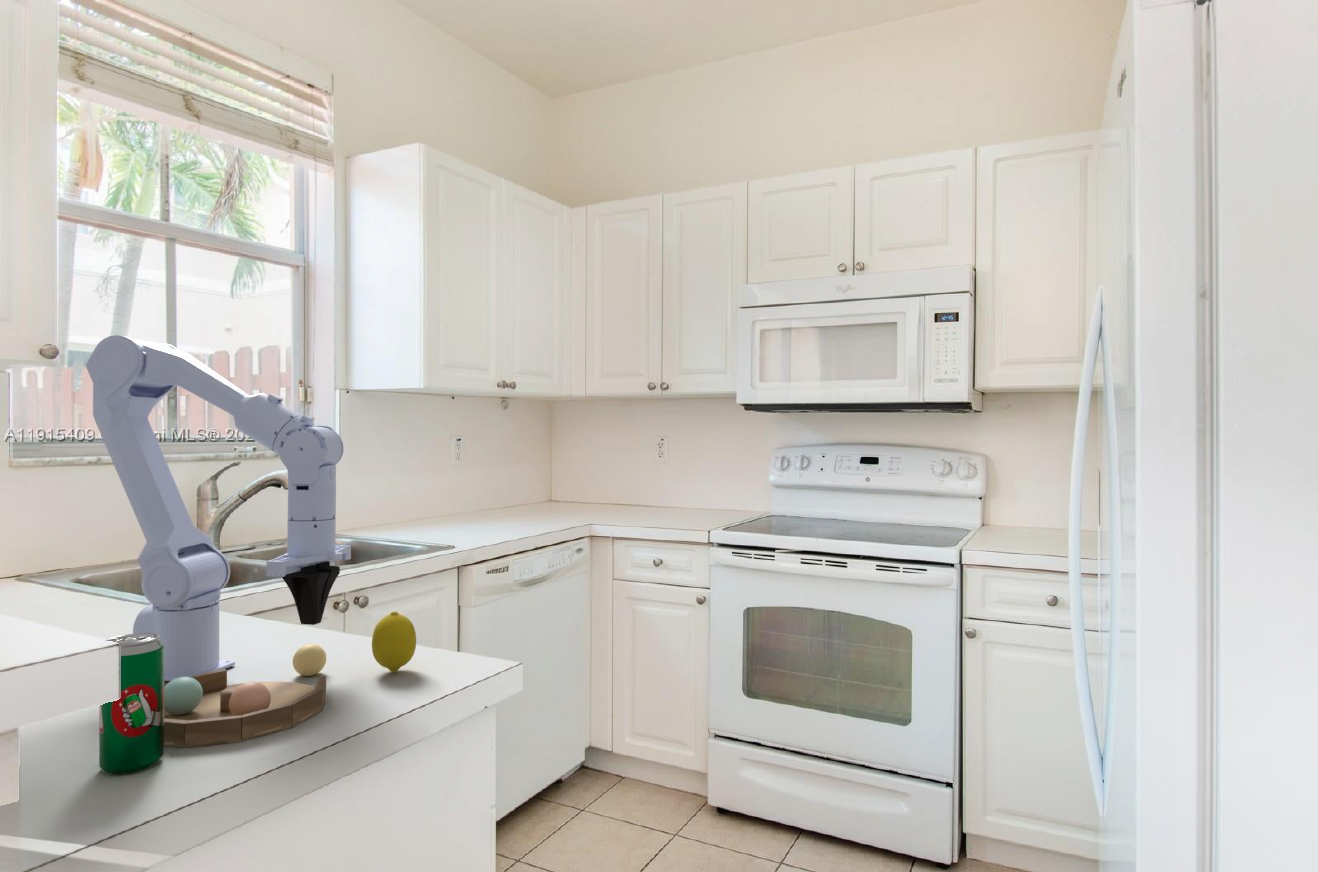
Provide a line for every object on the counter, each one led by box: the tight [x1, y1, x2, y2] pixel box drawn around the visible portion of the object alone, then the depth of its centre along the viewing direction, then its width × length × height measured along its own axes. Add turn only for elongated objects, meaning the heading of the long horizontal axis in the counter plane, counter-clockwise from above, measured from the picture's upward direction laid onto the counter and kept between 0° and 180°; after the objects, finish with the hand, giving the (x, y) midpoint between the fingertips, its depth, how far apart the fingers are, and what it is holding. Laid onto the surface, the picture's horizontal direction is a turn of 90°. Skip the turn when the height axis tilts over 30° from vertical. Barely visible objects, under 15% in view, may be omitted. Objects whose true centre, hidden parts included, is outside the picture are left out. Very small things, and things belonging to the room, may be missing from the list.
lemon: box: [371, 611, 417, 673], centre depth 102 cm, size 6×6×8 cm
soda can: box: [98, 633, 165, 776], centre depth 73 cm, size 5×5×12 cm
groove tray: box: [164, 668, 327, 749], centre depth 87 cm, size 19×19×2 cm
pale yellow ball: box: [292, 643, 327, 677], centre depth 100 cm, size 4×4×4 cm
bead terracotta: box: [229, 681, 271, 716], centre depth 84 cm, size 4×4×4 cm
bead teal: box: [164, 677, 203, 715], centre depth 85 cm, size 4×4×4 cm
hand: (310, 623), depth 101 cm, fingers closed
